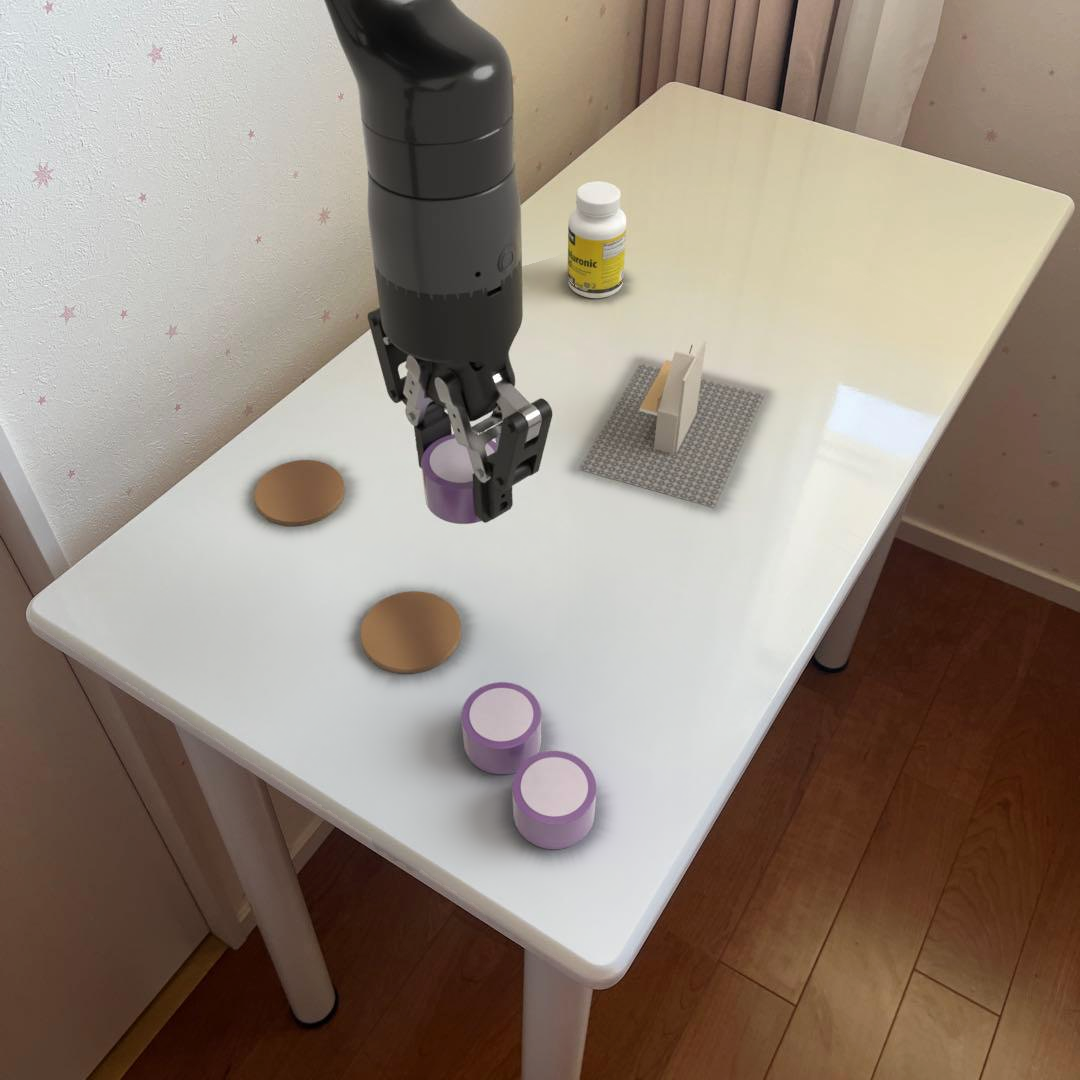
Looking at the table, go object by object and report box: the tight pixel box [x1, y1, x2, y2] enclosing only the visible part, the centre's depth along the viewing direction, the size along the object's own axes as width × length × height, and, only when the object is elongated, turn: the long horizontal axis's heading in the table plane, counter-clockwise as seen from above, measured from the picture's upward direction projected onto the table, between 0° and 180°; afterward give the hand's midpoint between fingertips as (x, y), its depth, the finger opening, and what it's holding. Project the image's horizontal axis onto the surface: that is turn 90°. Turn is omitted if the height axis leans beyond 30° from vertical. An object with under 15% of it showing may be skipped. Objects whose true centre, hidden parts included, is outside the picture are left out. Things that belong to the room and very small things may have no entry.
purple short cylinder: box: [421, 433, 498, 525], centre depth 67 cm, size 5×5×3 cm
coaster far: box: [253, 459, 346, 527], centre depth 87 cm, size 7×7×1 cm
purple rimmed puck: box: [511, 750, 597, 850], centre depth 67 cm, size 5×5×3 cm
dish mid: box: [460, 681, 542, 775], centre depth 70 cm, size 5×5×3 cm
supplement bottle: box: [567, 180, 628, 299], centre depth 103 cm, size 5×5×10 cm
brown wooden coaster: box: [359, 590, 462, 675], centre depth 77 cm, size 7×7×1 cm
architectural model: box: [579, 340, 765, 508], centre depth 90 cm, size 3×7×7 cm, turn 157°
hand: (464, 488), depth 68 cm, fingers closed on purple short cylinder, 5 cm apart
